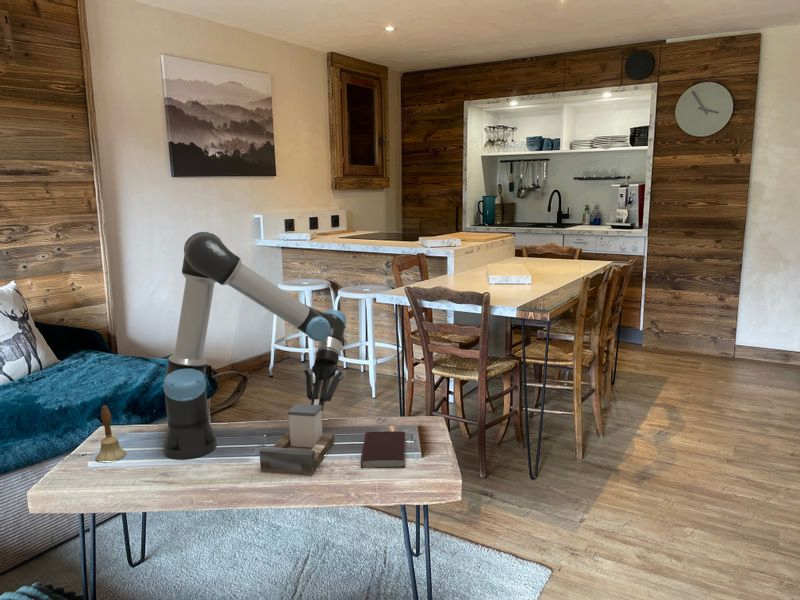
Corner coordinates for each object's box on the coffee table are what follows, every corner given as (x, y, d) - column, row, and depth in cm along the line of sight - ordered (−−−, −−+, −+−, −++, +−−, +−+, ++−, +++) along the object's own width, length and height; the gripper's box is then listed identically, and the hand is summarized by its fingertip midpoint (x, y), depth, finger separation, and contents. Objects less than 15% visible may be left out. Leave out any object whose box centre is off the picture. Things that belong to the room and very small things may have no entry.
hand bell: (127, 459, 181) (121, 407, 178) (95, 465, 177) (89, 413, 174) (125, 448, 188) (120, 398, 185) (95, 453, 185) (89, 403, 181)
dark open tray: (288, 439, 192) (287, 421, 191) (334, 442, 189) (333, 424, 188) (260, 471, 172) (259, 451, 171) (312, 475, 169) (311, 455, 168)
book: (360, 469, 173) (360, 459, 172) (365, 440, 192) (365, 430, 191) (405, 469, 173) (404, 459, 172) (405, 440, 192) (405, 430, 191)
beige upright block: (297, 437, 191) (295, 403, 188) (323, 439, 189) (321, 405, 187) (289, 446, 184) (287, 411, 182) (316, 448, 183) (314, 413, 181)
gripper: (349, 359, 207) (336, 426, 195) (312, 358, 210) (297, 423, 197) (344, 349, 201) (331, 417, 188) (306, 347, 203) (290, 414, 191)
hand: (314, 420), depth 193 cm, fingers closed
